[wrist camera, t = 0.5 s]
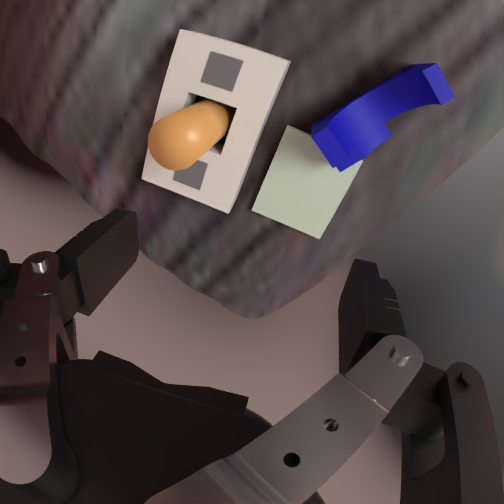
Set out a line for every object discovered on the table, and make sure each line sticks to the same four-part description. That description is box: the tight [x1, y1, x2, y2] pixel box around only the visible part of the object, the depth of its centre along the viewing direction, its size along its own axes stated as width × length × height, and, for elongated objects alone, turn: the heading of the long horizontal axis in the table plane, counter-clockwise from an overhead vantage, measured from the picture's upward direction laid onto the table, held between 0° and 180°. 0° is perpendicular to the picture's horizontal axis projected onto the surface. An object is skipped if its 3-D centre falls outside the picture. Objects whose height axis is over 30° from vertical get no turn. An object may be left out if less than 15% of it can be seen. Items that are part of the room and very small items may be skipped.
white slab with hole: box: [142, 29, 291, 214], centre depth 28 cm, size 16×10×3 cm, turn 160°
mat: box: [252, 125, 363, 239], centre depth 32 cm, size 10×8×1 cm
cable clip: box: [311, 63, 455, 172], centre depth 23 cm, size 12×4×6 cm, turn 128°
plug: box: [148, 98, 235, 171], centre depth 26 cm, size 4×4×10 cm
